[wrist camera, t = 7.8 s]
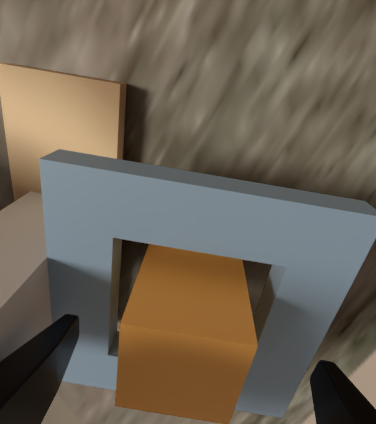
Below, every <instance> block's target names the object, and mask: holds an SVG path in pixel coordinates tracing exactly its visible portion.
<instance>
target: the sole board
mask: <svg viewBox="0 0 376 424" xmlns="http://www.w3.org/2000/svg"><path fill="white" fill-rule="evenodd" d="M126 89H127V83H121V82H115V81H109V80H103V79H98V78H92V77H86V76H80V75H74V74H68V73H63V72H57V71H51V70H45V69H39V68H33V67H28V66H22V65H16V64H7V63H0V96H1V104H2V111H3V119H4V127H5V135H6V143H7V150H8V158H9V166H10V174H11V181H12V189H13V197H14V202H15V201H16V200H18V199H19V198H21V197H23V196H24V195H26V194H27V193H29V192H30V191H33V192H38V193H42V191H41V178H40V166H39V158H42V157H44V156H46V155H48V154H50V153H52V152H54V151H56V150H58V149H62V150H68V151H74V152H80V153H86V154H91V155H97V156H103V157H109V158H115V159H121V160H123V145H124V127H125V108H126Z"/></svg>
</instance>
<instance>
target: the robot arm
mask: <svg viewBox="0 0 376 424" xmlns="http://www.w3.org/2000/svg"><path fill="white" fill-rule="evenodd" d="M79 333H80V331H79V316H77V315H73V314H65V315H63V316H62V317H61V318H59V319H58V320H56V321H55V322H54V323H52V324H51V325H50V326H48V327H47V328H45V329H44V330H43V331H41V332H40V333H39V334H37V335H36V336H34V337H33V338H32V339H30V340H29V341H28V342H26V343H25V344H23V345H22V346H21V347H19V348H18V349H17V350H15V351H14V352H13V353H11V354H10V355H8V356H7V357H6V358H4V359H3V360H2V361H0V424H41V422H42V420H43V418H44V416H45V414H46V413H47V411H48V409H49V407H50V405H51V403H52V401H53V399H54V397H55V395H56V393H57V391H58V389H59V386H60V384H61V382H62V379H63V377H64V374H65V372H66V369H67V367H68V364H69V362H70V359H71V357H72V354H73V352H74V349H75V347H76V344H77V341H78V338H79ZM310 385H311V391H312V398H313V404H314V411H315V417H316V424H376V409H375V408H374V407H373V406H372V405H371V404H370V402H369V401H368V400H367V399H366V398H365V397H364V396H363V395H362V393H361V392H360V391H359V390H358V389H357V388H356V387H355V386H354V384H353V383H352V382H351V381H350V380H349V379H348V378H347V377H346V375H345V374H344V373H343V372H342V371H341V370H340V369H339V368H338V366H337V365H336V364H335V363H333V362H330V361H325V360H320V361H319V362H318V363H317V365H316V367H315V369H314V371H313V373H312V374H311V378H310Z"/></svg>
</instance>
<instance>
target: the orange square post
mask: <svg viewBox="0 0 376 424" xmlns="http://www.w3.org/2000/svg"><path fill="white" fill-rule="evenodd" d="M257 348H258V343H257V338H256V332H255V326H254V321H253V315H252V310H251V304H250V299H249V293H248V288H247V282H246V277H245V271H244V266H243V260H242V259H236V258H230V257H224V256H218V255H212V254H207V253H201V252H195V251H189V250H183V249H177V248H171V247H165V246H159V245H153V244H149V245H148V248H147V251H146V253H145V256H144V259H143V262H142V264H141V267H140V270H139V273H138V275H137V278H136V281H135V284H134V286H133V289H132V292H131V295H130V297H129V300H128V303H127V306H126V308H125V311H124V314H123V317H122V319H121V322H120V332H119V348H118V365H117V381H116V398H115V406H118V407H124V408H130V409H136V410H142V411H149V412H155V413H161V414H167V415H173V416H179V417H185V418H191V419H197V420H204V421H210V422H216V423H222V424H229V422H230V420H231V417H232V414H233V412H234V409H235V406H236V404H237V401H238V398H239V396H240V393H241V390H242V388H243V385H244V382H245V380H246V377H247V374H248V372H249V369H250V366H251V364H252V361H253V358H254V356H255V353H256V350H257Z"/></svg>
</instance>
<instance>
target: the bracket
mask: <svg viewBox="0 0 376 424" xmlns="http://www.w3.org/2000/svg"><path fill="white" fill-rule="evenodd" d="M39 166H40V178H41V191H42V193H38V192H33V191H30V192H29V193H27V194H26V195H24V196H23V197H21V198H19V199H18V200H16V201H15V202H13V203H12V204H10V205H8V206H7V207H5V208H4V209H2V210H1V211H0V361H2V360H3V359H4V358H6V357H7V356H8V355H10V354H11V353H13V352H14V351H15V350H17V349H18V348H19V347H21V346H22V345H23V344H25V343H26V342H28V341H29V340H30V339H32V338H33V337H34V336H36V335H37V334H39V333H40V332H41V331H43V330H44V329H45V328H47V327H48V326H50V325H51V324H52V323H54V322H55V321H56V320H58V319H59V318H61V317H62V316H63V315H65V314H73V315H77V316H79V331H80V333H79V338H78V341H77V344H76V347H75V349H74V352H73V354H72V357H71V359H70V362H69V364H68V367H67V369H66V372H65V374H64V377H63V379H62V381H63V382H69V383H75V384H81V385H87V386H93V387H99V388H105V389H111V390H116V381H117V365H118V348H119V331H117V317H118V301H119V284H120V267H121V251H122V239H124V240H130V241H136V242H141V243H147V244H153V245H159V246H165V247H171V248H177V249H183V250H189V251H195V252H201V253H207V254H212V255H218V256H224V257H230V258H236V259H242V260H248V261H254V262H260V263H266V264H272V266H271V269H270V272H269V275H268V278H267V281H266V284H265V286H264V289H263V292H262V295H261V298H260V301H259V304H258V306H257V309H256V312H255V315H254V318H253V321H254V326H255V332H256V338H257V343H258V348H257V350H256V353H255V356H254V358H253V361H252V364H251V366H250V369H249V372H248V374H247V377H246V380H245V382H244V385H243V388H242V390H241V393H240V396H239V398H238V401H237V404H236V406H235V409H234V410H237V411H243V412H249V413H255V414H261V415H267V416H273V417H279V418H282V417H283V415H284V413H285V411H286V409H287V407H288V405H289V403H290V402H291V400H292V398H293V396H294V394H295V392H296V390H297V388H298V386H299V384H300V382H301V380H302V379H303V377H304V375H305V373H306V371H307V369H308V367H309V365H310V363H311V361H312V359H313V358H314V356H315V354H316V352H317V350H318V348H319V346H320V344H321V342H322V340H323V338H324V336H325V335H326V333H327V331H328V329H329V327H330V325H331V323H332V321H333V319H334V317H335V315H336V314H337V312H338V310H339V308H340V306H341V304H342V302H343V300H344V298H345V296H346V294H347V292H348V291H349V289H350V287H351V285H352V283H353V281H354V279H355V277H356V275H357V273H358V271H359V270H360V268H361V266H362V264H363V262H364V260H365V258H366V256H367V254H368V252H369V250H370V248H371V247H372V245H373V243H374V241H375V239H376V209H375V208H373V207H372V206H371V205H370V204H368V203H367V202H366V201H362V200H356V199H350V198H344V197H338V196H332V195H326V194H321V193H315V192H309V191H303V190H297V189H291V188H285V187H279V186H274V185H268V184H262V183H256V182H250V181H244V180H238V179H232V178H227V177H221V176H215V175H209V174H203V173H197V172H191V171H185V170H180V169H174V168H168V167H162V166H156V165H150V164H144V163H138V162H133V161H127V160H121V159H115V158H109V157H103V156H97V155H91V154H86V153H80V152H74V151H68V150H62V149H58V150H56V151H54V152H52V153H50V154H48V155H46V156H44V157H42V158H39Z"/></svg>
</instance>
